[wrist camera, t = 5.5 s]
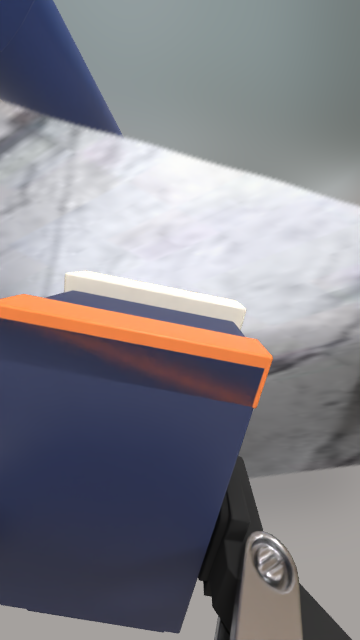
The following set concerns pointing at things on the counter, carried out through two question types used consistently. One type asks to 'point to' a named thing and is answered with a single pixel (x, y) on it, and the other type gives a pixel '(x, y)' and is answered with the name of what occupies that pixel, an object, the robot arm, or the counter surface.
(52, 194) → the counter surface
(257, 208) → the counter surface
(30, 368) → the blue orange block
